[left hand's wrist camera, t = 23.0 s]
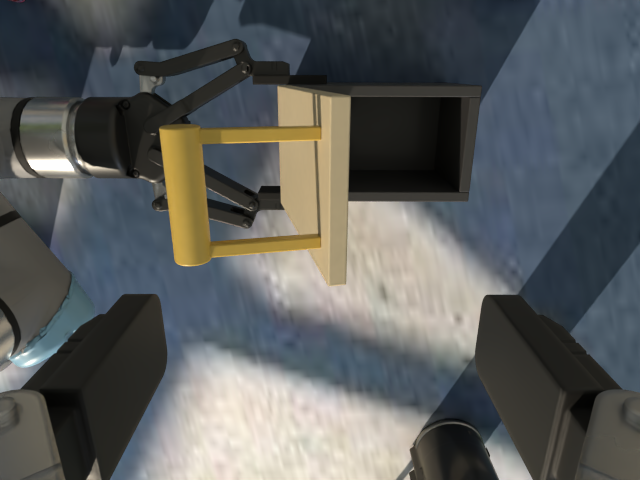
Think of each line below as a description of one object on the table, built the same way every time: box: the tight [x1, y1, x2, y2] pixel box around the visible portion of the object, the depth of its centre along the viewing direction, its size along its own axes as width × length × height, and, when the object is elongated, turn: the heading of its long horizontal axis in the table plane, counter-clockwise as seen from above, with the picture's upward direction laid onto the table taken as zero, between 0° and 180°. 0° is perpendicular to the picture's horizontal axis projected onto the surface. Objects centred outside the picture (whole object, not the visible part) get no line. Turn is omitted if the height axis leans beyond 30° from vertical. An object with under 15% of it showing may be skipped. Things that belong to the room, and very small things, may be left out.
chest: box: [287, 82, 482, 202], centre depth 44 cm, size 16×10×11 cm, turn 90°
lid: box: [159, 85, 351, 286], centre depth 30 cm, size 17×10×9 cm
